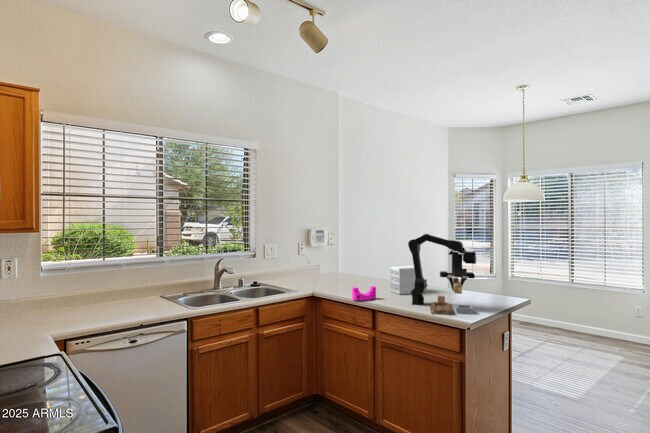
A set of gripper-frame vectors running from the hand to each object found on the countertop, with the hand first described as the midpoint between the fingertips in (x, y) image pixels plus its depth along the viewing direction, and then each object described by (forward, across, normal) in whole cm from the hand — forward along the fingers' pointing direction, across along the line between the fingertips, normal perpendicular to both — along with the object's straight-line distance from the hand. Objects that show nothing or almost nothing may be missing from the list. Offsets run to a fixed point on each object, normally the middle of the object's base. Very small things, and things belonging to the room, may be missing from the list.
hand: (456, 289), depth 226 cm
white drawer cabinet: (+12, -29, +44) cm, 54 cm away
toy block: (+12, -55, +16) cm, 58 cm away
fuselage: (+1, 0, 0) cm, 1 cm away
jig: (+11, -9, -7) cm, 16 cm away
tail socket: (+10, +3, -10) cm, 14 cm away
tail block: (+11, -8, +9) cm, 16 cm away
